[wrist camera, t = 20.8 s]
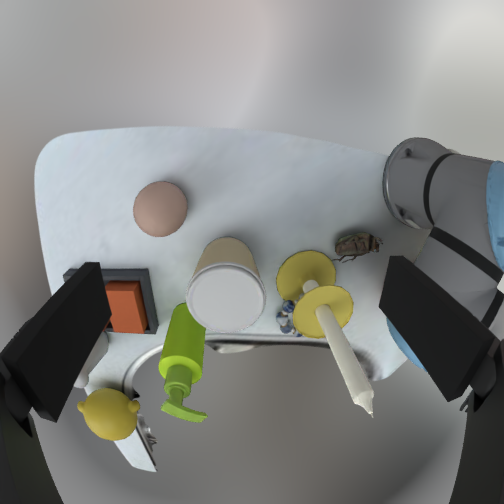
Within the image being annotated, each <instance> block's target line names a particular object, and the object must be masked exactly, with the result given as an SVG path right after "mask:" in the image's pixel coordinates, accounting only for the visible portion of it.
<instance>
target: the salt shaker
mask: <svg viewBox="0 0 504 504" xmlns="http://www.w3.org/2000/svg"><path fill="white" fill-rule="evenodd" d="M108 346H109V345H108V339H107V334H106V333H105V332H104V331H102V333H101V335H100V337H99V338H98V340H97V342H96V344H95V346H94V347H93V349H92V351H91V353H90V355H89V357H88V359H87V360H86V362H85V364H84V366H83V368H82V370H81V372H80V374H79V376H78V378H77V380H76V382H75V384H74V387H77V388H84V387H85V386H86V385H87V384H88V381H89V376H88V375H89V374H90V372H91V371H92V370H93V369H94V367H95V366H96V365H97V364H98V362H99V361H100V360H101V359H102V357H103V356H104V355H105V354H106V353H107V351H108Z"/></svg>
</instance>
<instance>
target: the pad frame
mask: <svg viewBox="0 0 504 504" xmlns="http://www.w3.org/2000/svg"><path fill="white" fill-rule="evenodd" d="M77 270H78V269H69V270H68V271H67V272H66V273H65V274H64V275H63V278H64V282H66V281H67V280H68V279H69V278H70V277H71V276H72V275H73V274H74V273H75V272H76V271H77ZM101 272H102V276H103V281H104V285H105V286H106V285H107V283H108V282H109V281H110V280H120V281H140V284H141V289H142V294H143V299H144V304H145V309H146V313H147V318H148V325H147V327H146V330H145V332H144V334H156V332H157V329H158V326H159V325H158V320H157V315H156V310H155V305H154V300H153V294H152V289H151V283H150V277H149V271H148V269H101ZM104 331H108V332H114V329H113V326H112V323H111V320H110V322H109V323H108V325H107V327H106V329H105V330H104ZM138 334H141V333H138Z"/></svg>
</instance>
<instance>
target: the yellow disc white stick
mask: <svg viewBox="0 0 504 504" xmlns="http://www.w3.org/2000/svg"><path fill="white" fill-rule="evenodd" d="M329 261H330V262H329ZM335 281H336V269H335V267H334V265H333V263H332V261H331V259H329V258H328V257H327V256H325V255H324V254H323V253H320V252H316V251H312V250H310V251H304V252H299V253H297V254H295V255H293V256H291V257H290V258H288V259H287V260H286V261H285V262H284V264H283V265H282V266H281V267H280V269H279V272H278V275H277V278H276V283H277V290H278V292H279V293H280V295H281V297H282V298H283V299H284V300H286V301H287V300H291V301H295V300H298V298H299V295H300V294H301V293H305V294H304V295H303V296H302V297H301V298H300V299H299V301H298V302H297V303H296V306H295V308H294V311H293V313H292V314H293V324H294V326H295V328H296V329H297V331H298V332H299V333H300V334H302V335H304V336H306V337H308V338H317V339H319V338H324V337H326V339H327V341H328V343H329V346H330V348H331V350H332V352H333V355H334V357H335V359H336V361H337V364H338V366H339V368H340V371H341V373H342V376H343V378H344V380H345V383H346V385H347V387H348V390H349V392H350V394H351V397H352V399H353V401H354V403H355V404H357V405H360V406H362V407H363V408H364V409H365V410H366V411H367V412H368V413H369V414H371V416H372V418H373V415H372V413H373V409H372V398H373V396H374V392H373V390H372V387H371V385H370V383H369V381H368V380H367V377H366V376H365V373H364V372H363V370H362V368H361V366H360V364H359V362H358V360H357V358H356V356H355V354H354V352H353V350H352V348H351V346H350V344H349V342H348V341H347V339H346V337H345V335H344V333H343V331H342V328H343V327H344V326H345V325H346V324H347V323H348V321H349V319H350V317H351V315H352V313H353V300H352V298H351V296H350V294H349V292H347V291H346V290H345V289H343V288H342V287H340V286H335V285H334V283H335Z"/></svg>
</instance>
